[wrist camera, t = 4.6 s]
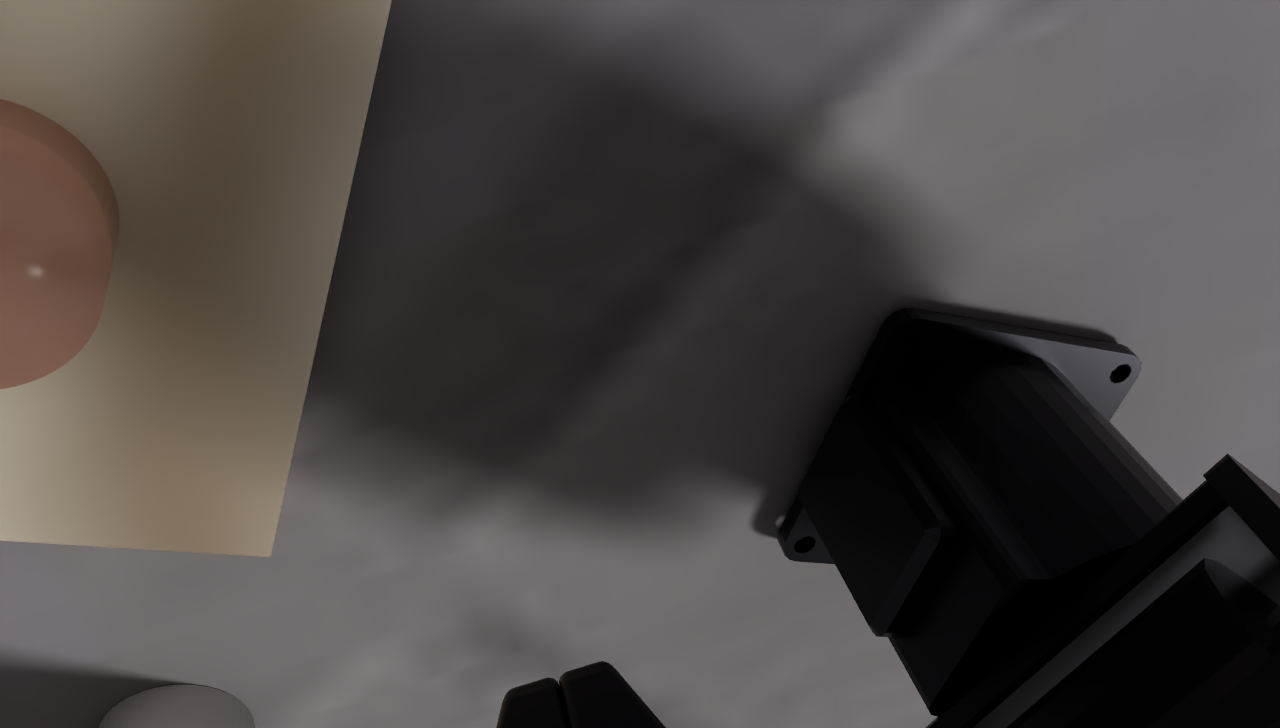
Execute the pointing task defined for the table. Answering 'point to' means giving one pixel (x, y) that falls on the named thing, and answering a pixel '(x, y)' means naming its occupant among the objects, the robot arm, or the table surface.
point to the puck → (49, 244)
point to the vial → (179, 709)
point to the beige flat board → (188, 260)
